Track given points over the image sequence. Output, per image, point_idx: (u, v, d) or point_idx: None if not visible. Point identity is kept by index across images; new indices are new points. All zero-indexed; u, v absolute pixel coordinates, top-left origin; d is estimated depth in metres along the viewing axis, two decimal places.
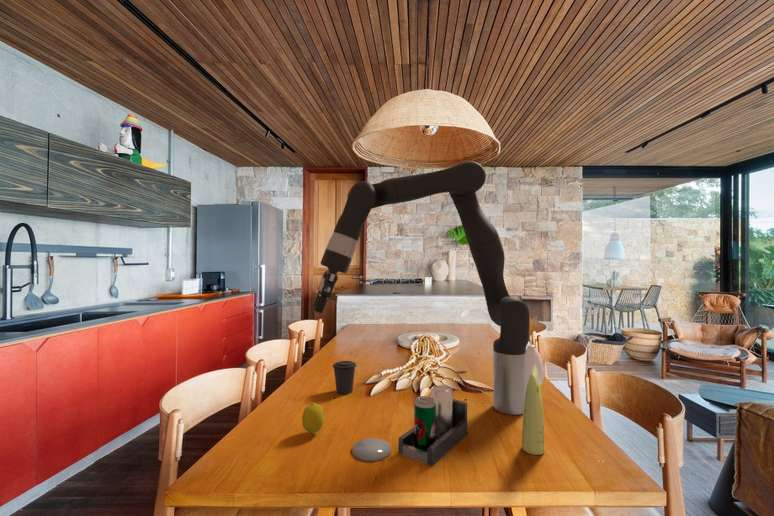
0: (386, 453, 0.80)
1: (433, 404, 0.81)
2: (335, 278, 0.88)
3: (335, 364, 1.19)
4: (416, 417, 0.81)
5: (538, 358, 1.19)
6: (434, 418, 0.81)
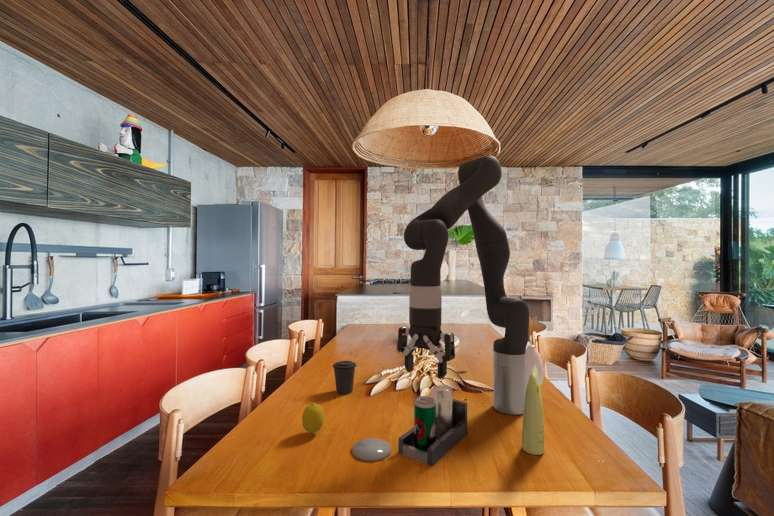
0: (386, 453, 0.80)
1: (433, 404, 0.81)
2: (453, 336, 0.79)
3: (335, 364, 1.19)
4: (416, 417, 0.81)
5: (538, 358, 1.19)
6: (434, 418, 0.81)
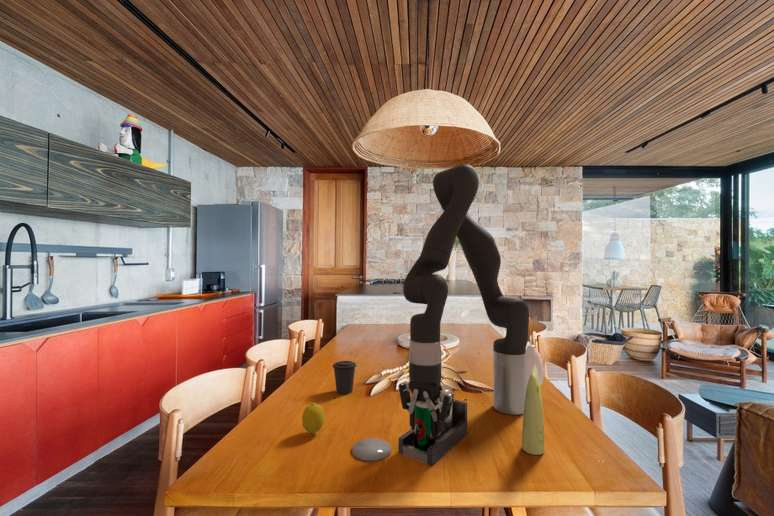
0: (386, 453, 0.80)
1: (433, 404, 0.81)
2: (452, 398, 0.79)
3: (335, 364, 1.19)
4: (416, 417, 0.81)
5: (538, 358, 1.19)
6: None
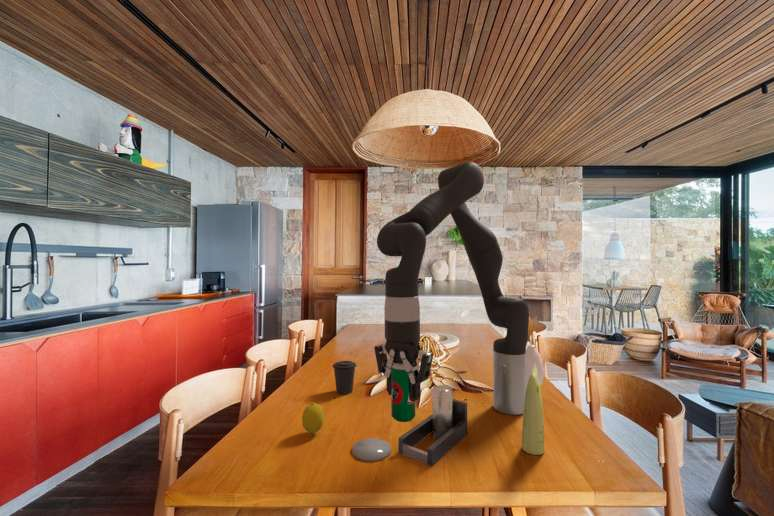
0: (386, 453, 0.80)
1: (411, 366, 0.74)
2: (431, 357, 0.72)
3: (335, 364, 1.19)
4: (393, 380, 0.74)
5: (538, 358, 1.19)
6: None
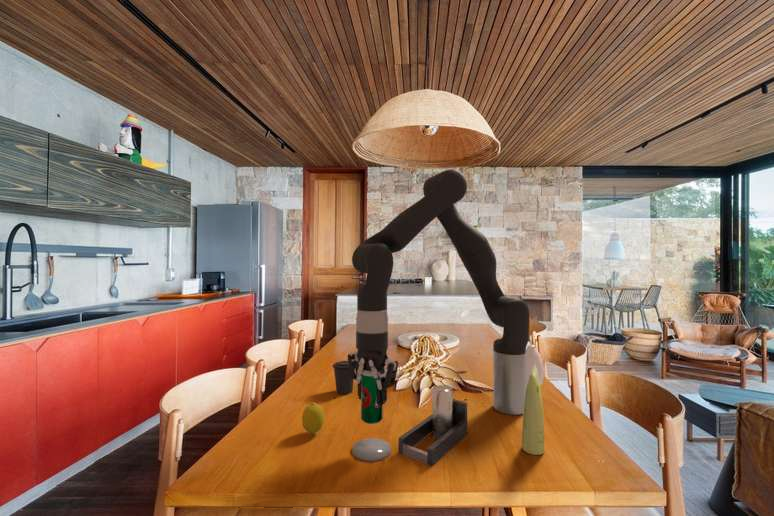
0: (386, 453, 0.80)
1: (379, 373, 0.81)
2: (397, 366, 0.80)
3: (335, 364, 1.19)
4: (362, 386, 0.82)
5: (538, 358, 1.19)
6: None
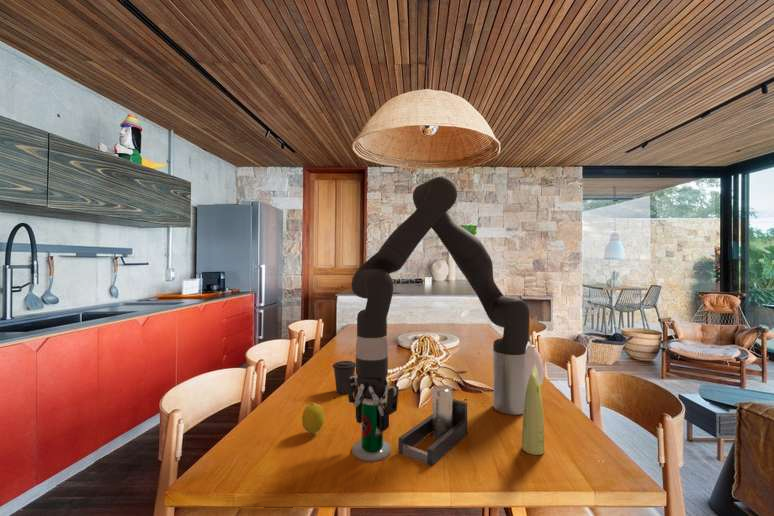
0: (386, 453, 0.80)
1: None
2: (397, 391, 0.79)
3: (335, 364, 1.19)
4: (362, 414, 0.81)
5: (538, 358, 1.19)
6: None
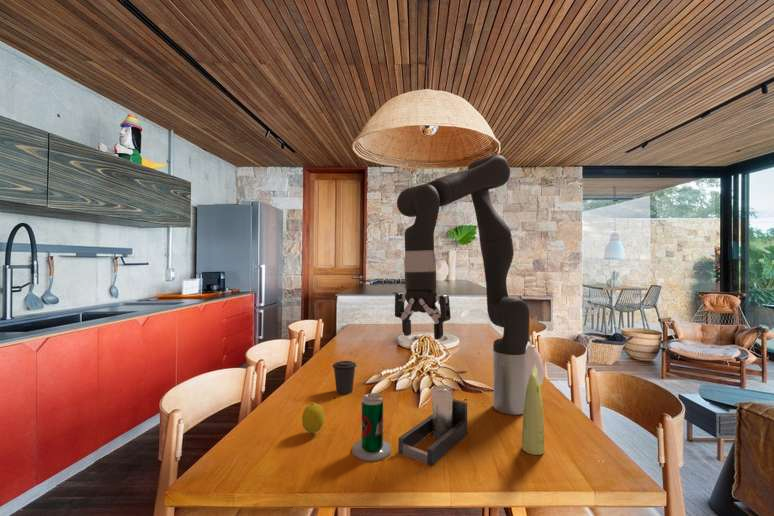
0: (386, 453, 0.80)
1: (379, 401, 0.81)
2: (448, 298, 0.81)
3: (335, 364, 1.19)
4: (362, 414, 0.82)
5: (538, 358, 1.19)
6: (381, 415, 0.81)
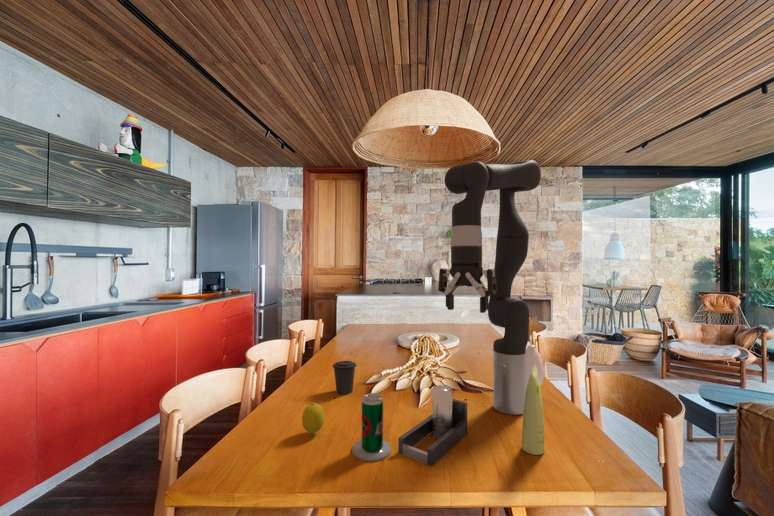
0: (386, 453, 0.80)
1: (379, 401, 0.81)
2: (494, 272, 0.83)
3: (335, 364, 1.19)
4: (362, 414, 0.81)
5: (538, 358, 1.19)
6: (380, 415, 0.81)
